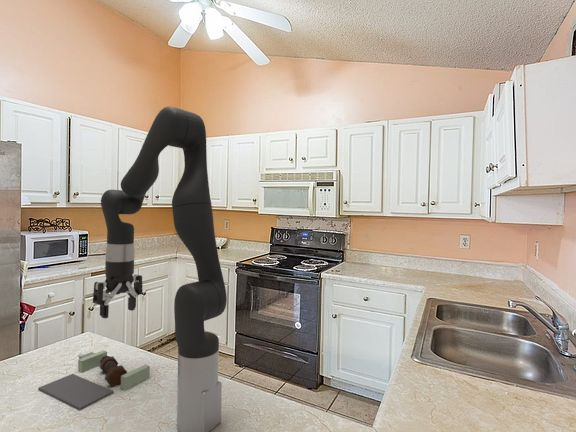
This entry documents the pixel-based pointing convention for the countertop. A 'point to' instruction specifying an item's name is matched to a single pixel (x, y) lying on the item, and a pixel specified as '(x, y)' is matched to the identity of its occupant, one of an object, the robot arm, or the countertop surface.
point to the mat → (76, 391)
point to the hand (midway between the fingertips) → (118, 313)
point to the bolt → (112, 370)
